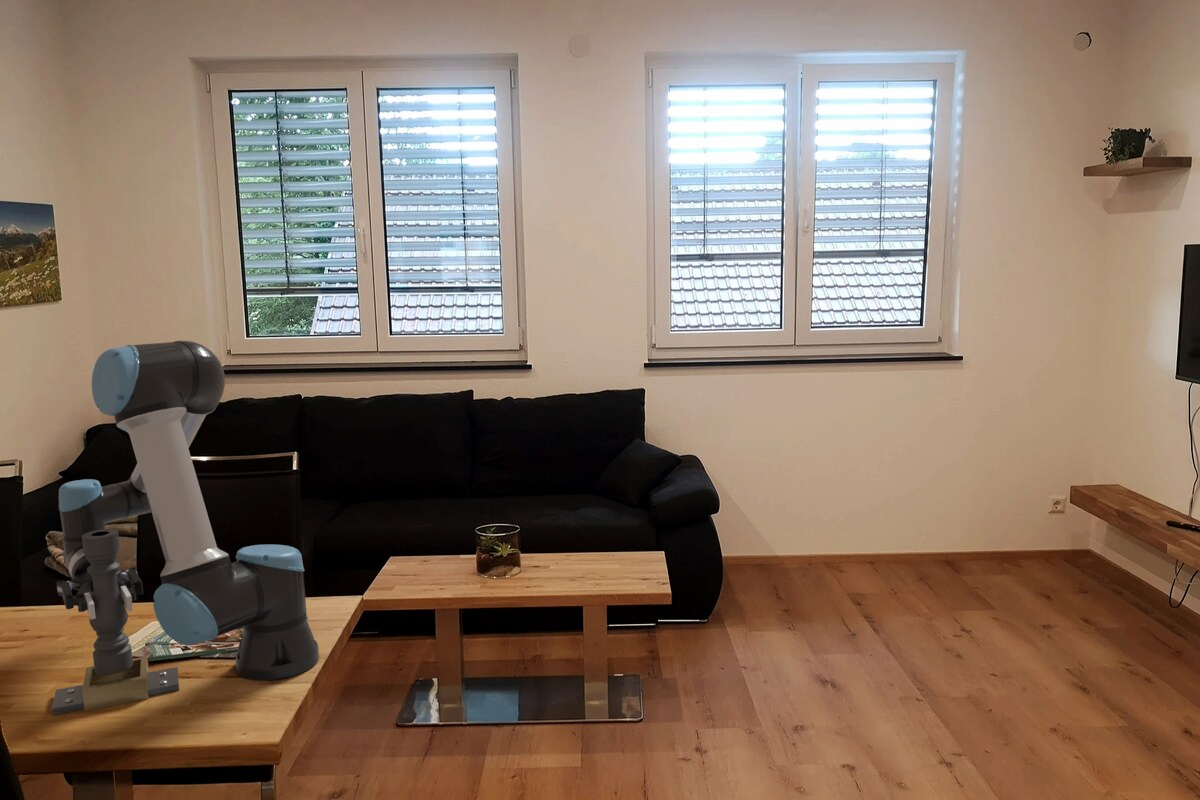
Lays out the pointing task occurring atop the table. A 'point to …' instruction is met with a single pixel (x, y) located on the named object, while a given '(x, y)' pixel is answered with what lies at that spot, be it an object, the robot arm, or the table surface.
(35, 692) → the table surface
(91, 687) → the square socket fixture
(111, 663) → the candle holder
